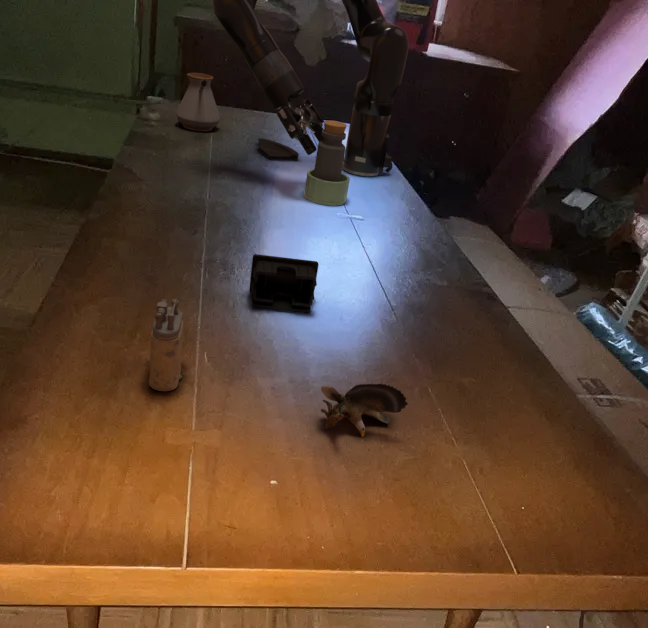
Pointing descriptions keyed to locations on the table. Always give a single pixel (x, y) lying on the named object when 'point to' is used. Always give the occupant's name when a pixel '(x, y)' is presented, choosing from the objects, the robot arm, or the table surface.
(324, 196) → the holder
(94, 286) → the table surface
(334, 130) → the bottle
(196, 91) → the coffee pot
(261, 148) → the dark sector wedge
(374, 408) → the dark toy animal
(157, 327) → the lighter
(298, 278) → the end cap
